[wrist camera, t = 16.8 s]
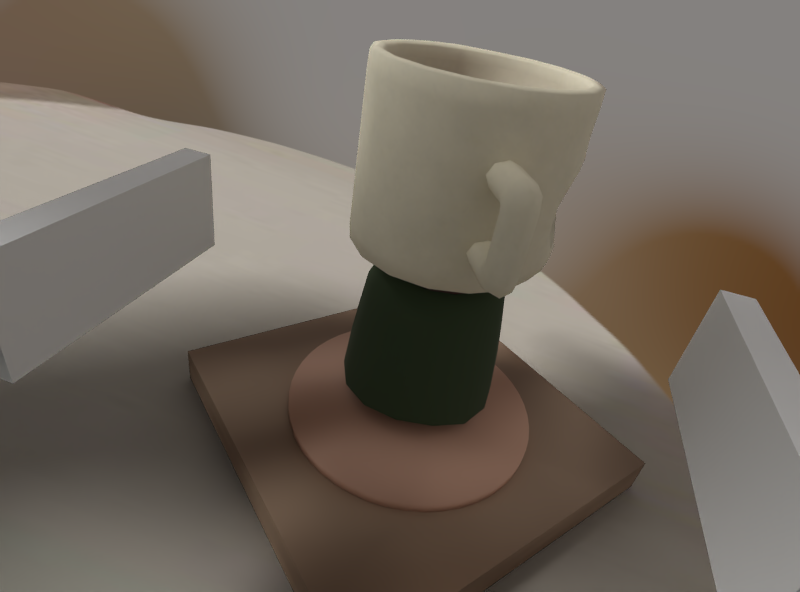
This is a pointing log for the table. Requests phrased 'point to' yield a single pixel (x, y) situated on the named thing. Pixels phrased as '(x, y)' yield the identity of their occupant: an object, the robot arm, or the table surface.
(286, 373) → the walnut board
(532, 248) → the character mug
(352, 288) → the table surface
